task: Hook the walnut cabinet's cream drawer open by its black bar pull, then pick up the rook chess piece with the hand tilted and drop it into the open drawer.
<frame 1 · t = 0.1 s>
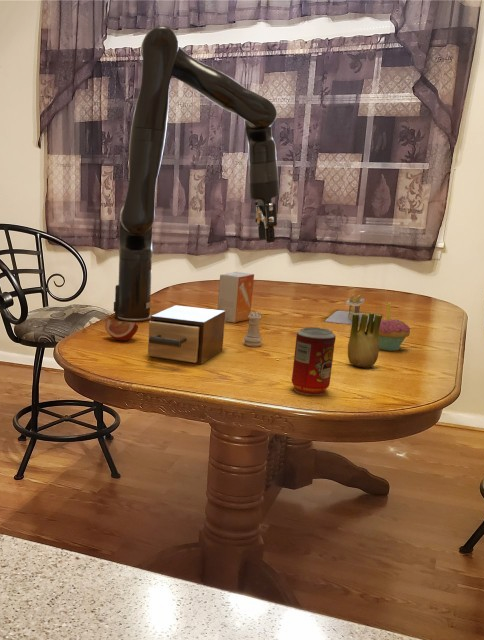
hand: (266, 240, 189), 22 cm above the counter, tool pointing down, fingers open, 8 cm apart
drawer: (179, 338, 156), point 5 cm above the counter, slide at 1.0 cm
small box: (233, 320, 197), on the counter
rook chess piece: (252, 345, 169), on the counter
fruit slice: (121, 340, 174), on the counter
cupcake: (387, 348, 166), on the counter
platform: (352, 318, 199), on the counter
cabinet: (186, 353, 161), on the counter
red food can: (309, 391, 135), on the counter
fennel bulb: (361, 366, 151), on the counter
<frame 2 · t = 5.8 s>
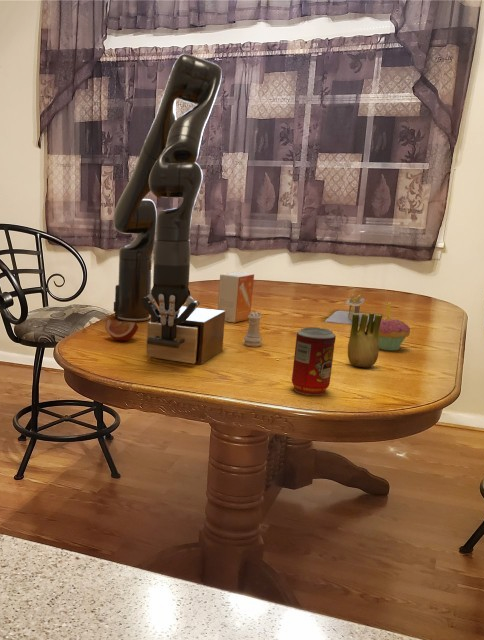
hand: (168, 341, 149), 6 cm above the counter, tool pointing down, fingers closed
drawer: (177, 338, 155), point 5 cm above the counter, slide at 2.0 cm, touching gripper
everything else where it was.
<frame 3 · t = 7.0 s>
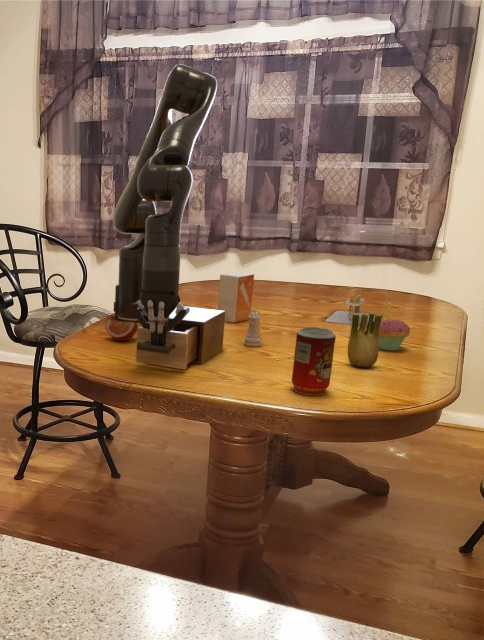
hand: (157, 349, 145), 5 cm above the counter, tool pointing down, fingers closed
drawer: (168, 344, 150), point 5 cm above the counter, slide at 7.3 cm
everything else where it was.
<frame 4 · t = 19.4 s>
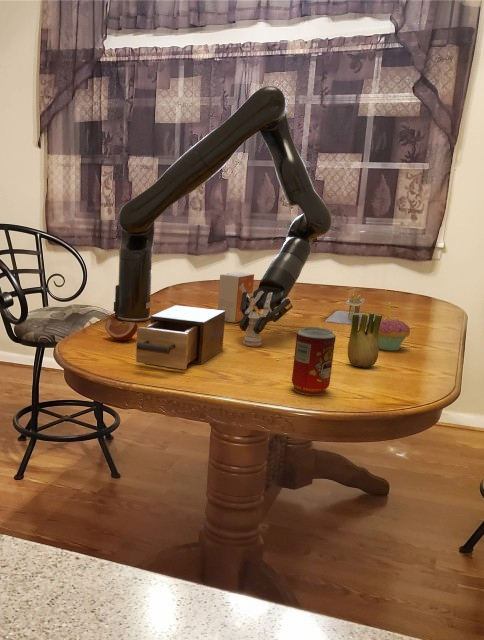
hand: (249, 330, 166), 4 cm above the counter, tool tilted 45°, fingers closed on rook chess piece, 3 cm apart
rook chess piece: (252, 345, 169), on the counter, touching gripper
everything else where it was.
when the fingers open (11 cm above the counter, at t = 27.9 s): rook chess piece drops 5 cm, resting on drawer.
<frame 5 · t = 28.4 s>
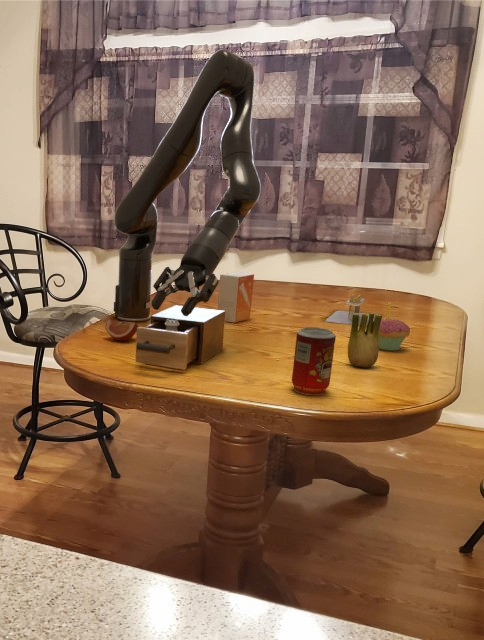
hand: (168, 310, 149), 12 cm above the counter, tool tilted 45°, fingers open, 8 cm apart
drawer: (168, 344, 150), point 5 cm above the counter, slide at 7.5 cm, touching rook chess piece
rook chess piece: (170, 355, 152), point 2 cm above the counter, touching drawer
everything else where it was.
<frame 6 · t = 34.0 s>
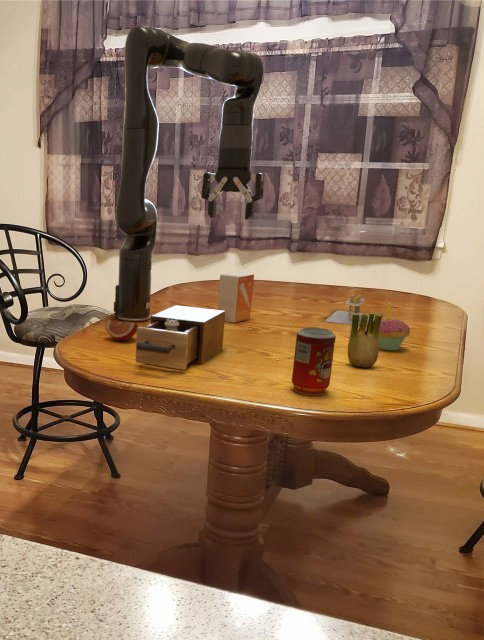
hand: (230, 218, 164), 30 cm above the counter, tool pointing down, fingers open, 8 cm apart
nothing on the counter moved.
at the end: drawer slide at 7.5 cm; rook chess piece inside the target area in the drawer (2.0 cm from its centre), point 1.8 cm above the cabinet's base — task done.
